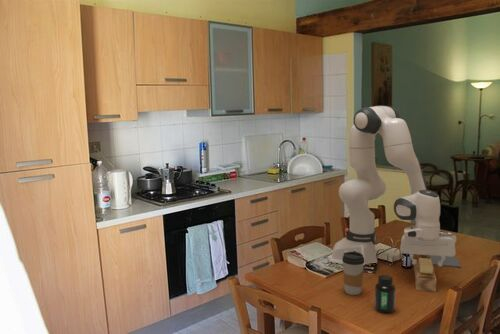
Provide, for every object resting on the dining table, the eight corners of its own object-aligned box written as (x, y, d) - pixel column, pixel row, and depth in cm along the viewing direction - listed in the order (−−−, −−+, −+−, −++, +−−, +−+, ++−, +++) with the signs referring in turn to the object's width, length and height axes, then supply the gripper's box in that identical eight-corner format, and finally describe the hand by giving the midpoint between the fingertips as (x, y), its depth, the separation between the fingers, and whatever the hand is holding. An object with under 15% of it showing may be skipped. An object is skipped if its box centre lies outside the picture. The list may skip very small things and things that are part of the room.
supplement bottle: (386, 315, 146) (387, 283, 144) (370, 308, 152) (371, 276, 150) (398, 309, 150) (399, 277, 148) (382, 302, 156) (383, 271, 154)
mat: (431, 265, 189) (431, 263, 189) (428, 255, 200) (428, 254, 200) (460, 267, 185) (460, 266, 185) (456, 257, 196) (456, 256, 196)
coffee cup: (347, 285, 171) (348, 249, 168) (367, 290, 166) (368, 254, 163) (338, 292, 164) (338, 256, 162) (358, 298, 159) (358, 260, 157)
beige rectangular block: (419, 275, 166) (420, 265, 166) (418, 266, 175) (418, 257, 174) (432, 276, 165) (432, 267, 164) (430, 268, 173) (430, 258, 173)
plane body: (416, 289, 165) (417, 270, 164) (413, 270, 184) (414, 252, 183) (435, 292, 163) (436, 272, 162) (431, 271, 182) (432, 254, 180)
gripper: (455, 230, 167) (454, 264, 168) (400, 227, 173) (400, 260, 175) (457, 235, 161) (456, 270, 163) (400, 232, 167) (400, 265, 169)
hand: (426, 265), depth 169 cm, fingers open, 8 cm apart
